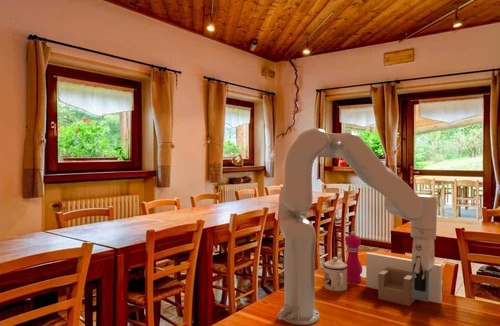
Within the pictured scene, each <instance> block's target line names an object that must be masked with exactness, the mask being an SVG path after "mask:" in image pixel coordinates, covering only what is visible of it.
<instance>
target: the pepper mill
mask: <svg viewBox="0 0 500 326" xmlns="http://www.w3.org/2000/svg"><path fill="white" fill-rule="evenodd" d="M361 242H362V241H361V238H360V236H358V235H356V232H355V231H350V234H349V235H348V236H347V237H346V238H345V244H346V251H347V258H346V261H345V263H346V264H347V266H348V268H347V283H348V282H349V283H353V284H354V283H360V282H362V275H361V274H362V273H363V266H362V263H361V261H360V259H359V252H360V248H361V247H360V246H361Z"/></svg>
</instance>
